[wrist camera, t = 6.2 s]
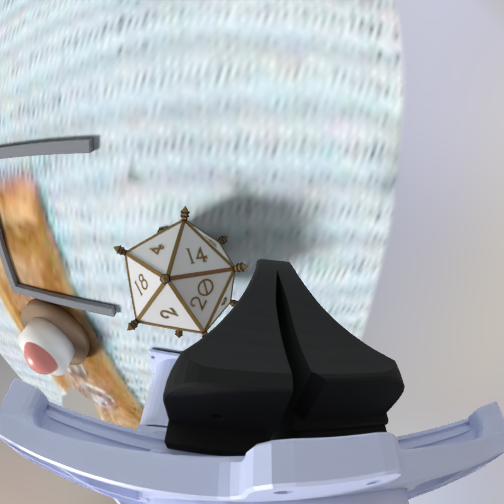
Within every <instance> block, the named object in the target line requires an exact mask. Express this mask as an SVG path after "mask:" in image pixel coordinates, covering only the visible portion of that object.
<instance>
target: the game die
mask: <svg viewBox="0 0 504 504" xmlns="http://www.w3.org/2000/svg"><path fill="white" fill-rule="evenodd" d="M189 213H190V212H189V211H188V210H187V208H186V206H185V207H184V208H183V210H182V211H181V217H182V219H181V220H180V221H179V222H177V223H175V224H173V225H171V226H169V227H168V228H166V229H164V228H163V229H162V228H159V230H158V232H157V234H155V235H153V236H152V237H150V238H148V239H146V240H145V241H143V242H141V243H139V244H138V245H136V246H134V247H133V248H131V249H129V250H125V249H124V247H121V245H120V246H116V247H114V249H115V250H116V252H117V254H118V253H119V254H120V255H124V256H125V261H126V268H127V274H128V281H129V287H130V292H131V298H132V304H133V309H134V314H135V320H133V321H131V323H128V324H129V325H128V329H127V331H128V330H135V328H136V327H137V325H138V323H143V324H148V325H153V326H158V327H164V328H170V329H175V330H176V331H175V332H176V333H175V335H177V336H178V338H180V337H181V336H183V335H182V331H188V332H194V333H201V334H202V335H203V336H202V338H203V337H204V336H205V335H207V334H208V333H207V330H208V329H209V328H210V327H211V325H212V324H213V323H214V322H215V321H216V319H217V318H218V317H219V316H220V315H221V314H222V312H223V311H224V310H225V309H226V308H227V306H228V305H229V304H230V305H231V306H232V307H234V306H235V305H236V304H237V302H238V301H235V300H231V298H232V291H233V283H234V276H235V271H238V272H240V271H243V272H244V270H245V269H246V268H247V267H248V265H245V264H243V263H242V262H241V263H240V264H239V263H238V264H237V265H236V266H234V265H233V263H232V262H231V260H230V258H229V257H228V255H227V253H226V252H225V250H224V248H223V247H222V245H221V244H224V243H225V242H227V236H221V238H219V241H217V240H215V239H214V238H212V237H211V236H209V235H208V234H206V233H205V232H203V231H202V230H200V229H199V228H197V227H196V226H195V225H193V224H192V223H190V222H189V221H187V218H188V217H189V215H188V214H189Z"/></svg>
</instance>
